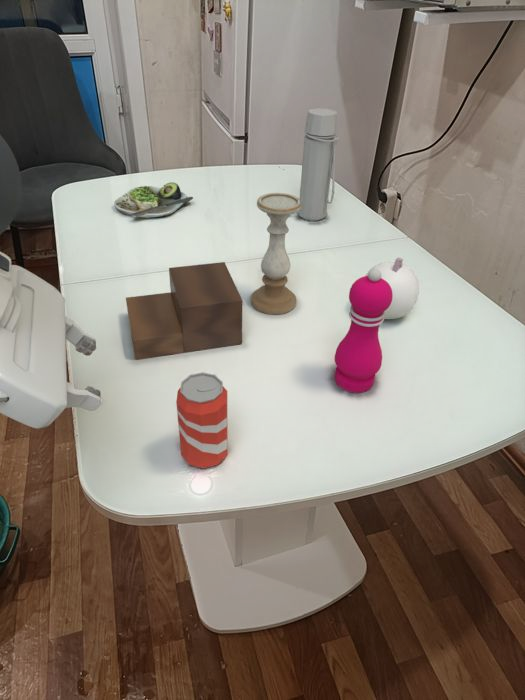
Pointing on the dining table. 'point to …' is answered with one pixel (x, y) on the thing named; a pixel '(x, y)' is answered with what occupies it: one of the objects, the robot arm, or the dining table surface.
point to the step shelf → (187, 313)
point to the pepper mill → (363, 334)
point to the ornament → (399, 287)
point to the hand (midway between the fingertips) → (95, 373)
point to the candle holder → (276, 255)
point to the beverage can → (202, 420)
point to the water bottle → (318, 163)
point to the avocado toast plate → (152, 201)
